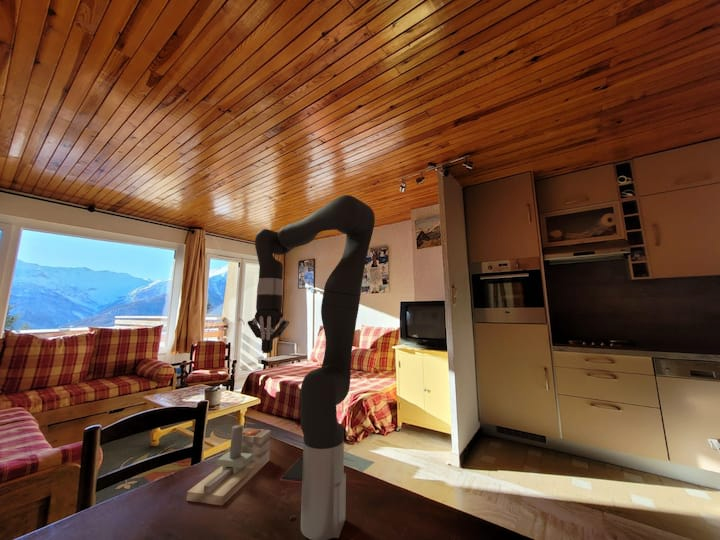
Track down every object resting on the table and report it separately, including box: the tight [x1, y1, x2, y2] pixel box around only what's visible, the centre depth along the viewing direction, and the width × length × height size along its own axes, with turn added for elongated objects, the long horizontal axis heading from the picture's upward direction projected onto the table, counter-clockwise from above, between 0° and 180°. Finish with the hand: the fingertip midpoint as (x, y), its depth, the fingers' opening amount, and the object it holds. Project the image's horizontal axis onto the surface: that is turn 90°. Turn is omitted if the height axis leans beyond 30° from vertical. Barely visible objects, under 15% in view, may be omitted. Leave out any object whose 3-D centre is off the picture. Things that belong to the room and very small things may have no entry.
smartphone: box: [279, 456, 303, 484], centre depth 87 cm, size 7×1×14 cm
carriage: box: [216, 424, 253, 474], centre depth 83 cm, size 8×5×11 cm, turn 79°
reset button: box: [245, 428, 258, 436], centre depth 91 cm, size 4×4×3 cm
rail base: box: [186, 427, 272, 506], centre depth 82 cm, size 10×23×9 cm, turn 169°
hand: (266, 352), depth 84 cm, fingers closed
